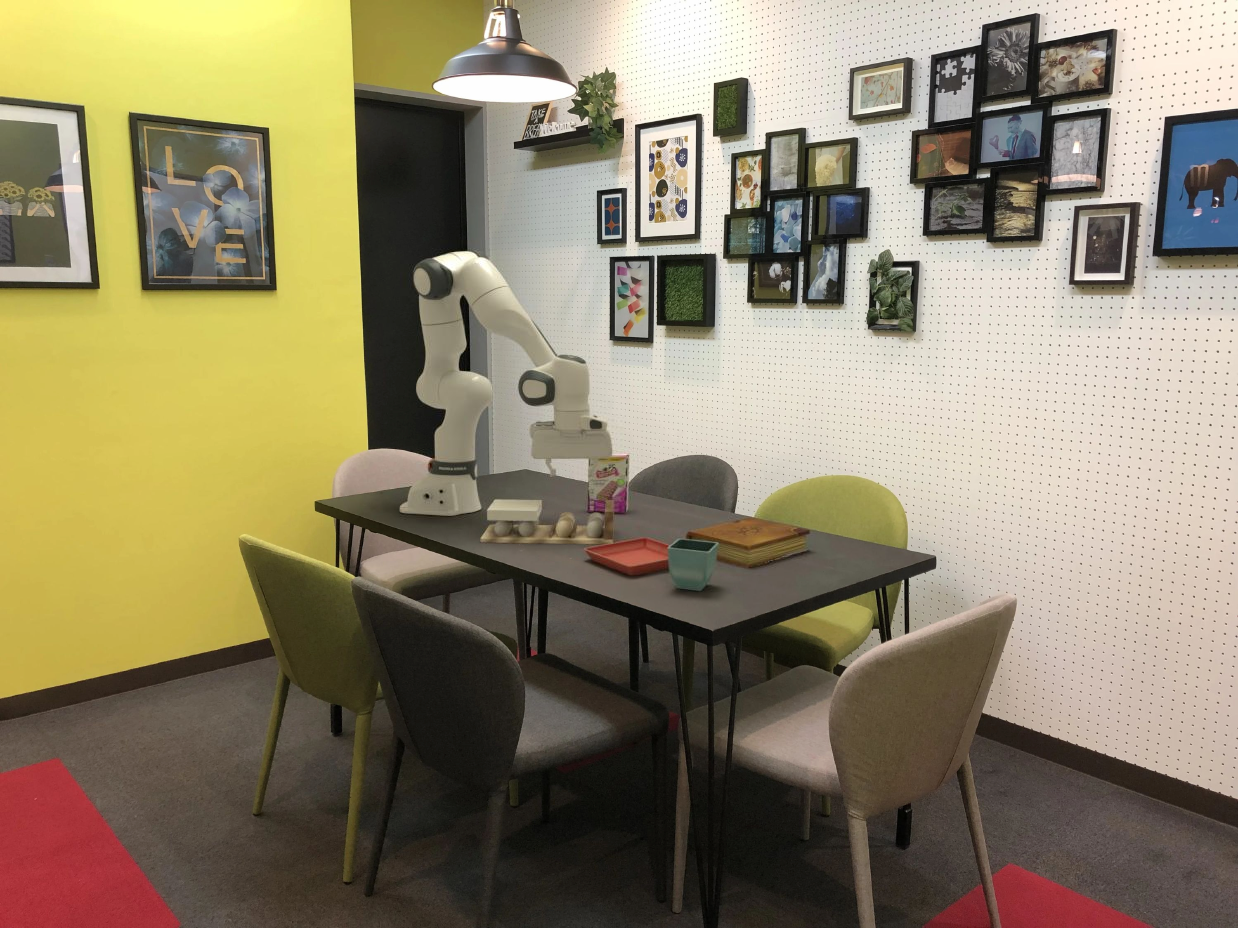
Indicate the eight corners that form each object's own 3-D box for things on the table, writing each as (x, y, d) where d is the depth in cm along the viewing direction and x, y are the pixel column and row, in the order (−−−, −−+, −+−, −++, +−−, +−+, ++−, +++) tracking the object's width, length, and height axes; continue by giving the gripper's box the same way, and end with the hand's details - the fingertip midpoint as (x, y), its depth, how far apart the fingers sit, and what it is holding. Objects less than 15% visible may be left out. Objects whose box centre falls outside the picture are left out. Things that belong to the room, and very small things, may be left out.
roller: (553, 535, 227) (558, 519, 226) (557, 524, 238) (561, 510, 237) (569, 539, 227) (573, 524, 226) (572, 529, 238) (576, 514, 237)
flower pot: (718, 583, 194) (719, 541, 192) (708, 595, 185) (709, 551, 184) (677, 579, 196) (678, 537, 195) (665, 590, 188) (666, 547, 187)
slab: (487, 520, 225) (487, 510, 225) (494, 508, 238) (494, 499, 238) (536, 520, 225) (536, 510, 225) (541, 509, 238) (541, 500, 238)
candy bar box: (587, 512, 260) (587, 454, 257) (589, 509, 265) (590, 452, 262) (627, 514, 259) (627, 456, 256) (628, 510, 264) (629, 453, 261)
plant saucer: (629, 580, 196) (629, 565, 196) (582, 561, 211) (582, 547, 210) (694, 567, 207) (695, 553, 206) (645, 550, 221) (645, 537, 221)
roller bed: (480, 542, 225) (480, 509, 224) (489, 528, 240) (489, 497, 239) (612, 544, 225) (613, 512, 224) (613, 530, 240) (614, 499, 239)
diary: (746, 539, 235) (747, 516, 234) (808, 553, 222) (810, 530, 221) (685, 553, 219) (686, 529, 218) (748, 570, 206) (749, 544, 205)
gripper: (529, 423, 226) (529, 478, 229) (612, 422, 227) (612, 478, 230) (530, 419, 233) (530, 474, 235) (611, 419, 234) (611, 473, 236)
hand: (572, 476), depth 232 cm, fingers open, 8 cm apart
